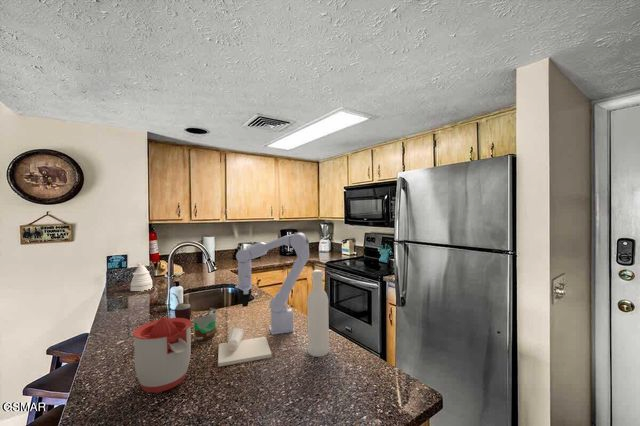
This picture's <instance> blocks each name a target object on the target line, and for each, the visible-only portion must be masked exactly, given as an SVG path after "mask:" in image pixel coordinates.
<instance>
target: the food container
mask: <svg viewBox="0 0 640 426" xmlns="http://www.w3.org/2000/svg"><path fill="white" fill-rule="evenodd" d="M217 317H218V311H217V310H216V308H213V307H210V308H209V310H208V311H206V312H203V313H201V314H200V315H199V316H198V317H193V319H192V323H193V325H194V326H193V327H194V337H195V338H194V339H195V342H204V341H208V340H211V339H212V338H214V337H215V336H216V322H217V321H216V319H217Z"/></svg>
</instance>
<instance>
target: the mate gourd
mask: <svg viewBox="0 0 640 426" xmlns="http://www.w3.org/2000/svg"><path fill="white" fill-rule="evenodd" d="M171 294H172V295H174V296H175V298H176V300H177V303H178V304H176V306H175V308H174V316H175V317H174V318H185V319H188V320H190V321H191V316H192V307H191V304H190V303H189V302H180V300H179V296H178V295H177V294H175V293H174V292H173V293H171Z"/></svg>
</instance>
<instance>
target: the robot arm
mask: <svg viewBox="0 0 640 426" xmlns="http://www.w3.org/2000/svg"><path fill="white" fill-rule="evenodd" d="M309 245H310V243H309V238H308V237H307V234H305V233H303V232H300V231H299V232H297V233H292V234H288V235H284V236H282V237H279V238H276V239H274V240H272V241H269V242H267V243H265V242H264V241H257V242H255V244H252V245H247V246H246V247H245V248H241V249H239V250H238V251H237V252H236V254H235V258H236V261H237V284H238V285H235V286H234V287H235V289H238V294H239V297H240V300H241V306H242V308H245V307H249V306H248V305H249V301H250V297H251V294H252V288H253V287H252V286H253V285H252V260H254V259H256V258H259V257H261V256H264V255H266V254H268V251H270V250H272V249H275V248H278V247H283V246H287V247H290V246H291V247H292V248H293V250H294V251H295V254H296V256H297V257H296V259H295V261H294V262H293V264H292V267H291V268H290V270H289V272H288V274H287V276H286V277H285V279H284V281H283V283H282V285H281V287H280V288H279V290H278V292H276V294H275V295H274V296H273V298H272V299H271V300H270V301H269V308H270V326H269V327H268V329H269V331H270V333H271V335H272V336H274V335H280V334H286V333H287V334H288V333H293V332H294V331H295V330H294V313H293V309H292V308H288V305H287V303H288V301H289V296H290V294H291V291H292V290H293V287H294V286H295V284H296V282H297V281H298V279H299V276H300V274H301V273H302V271H303V269H304V267H305V266H306V264H307V262H308V261H309V259H310V246H309Z"/></svg>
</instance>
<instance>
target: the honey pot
mask: <svg viewBox="0 0 640 426" xmlns="http://www.w3.org/2000/svg"><path fill="white" fill-rule="evenodd" d="M136 266H138V267H137V268H136V270H135V271H134V272H132V275H133V277H132V278H131V282H130V292H131V291H141V292H145V291H144V290H147V291H149V290H148V289H150V290H152V289H153V288H152V287H153V279H152V277H151V275H150V271H149V270H148V269H147V267H146V266H145V265H143V264H142V263H141V262H136ZM151 288H152V289H151Z"/></svg>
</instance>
